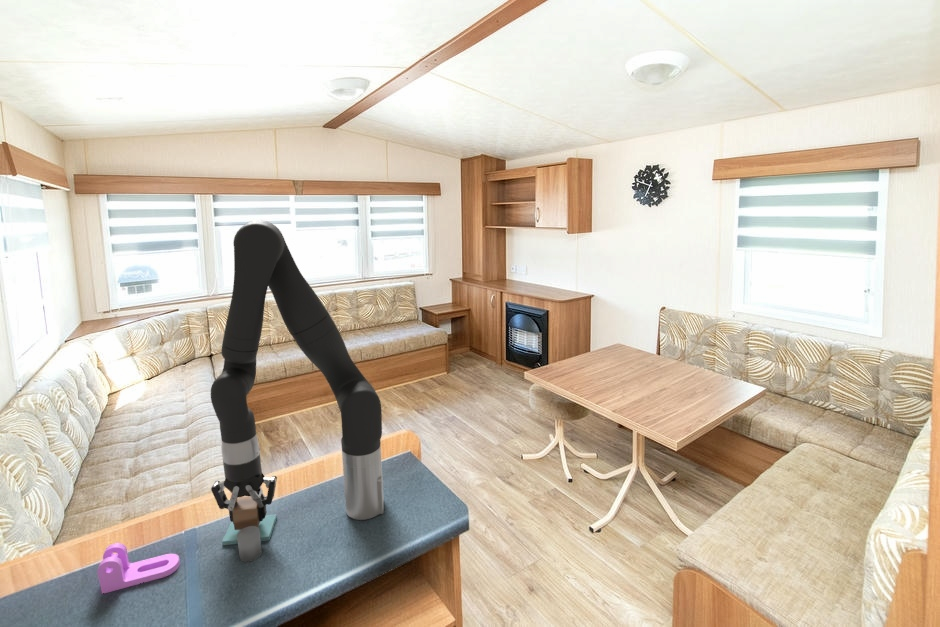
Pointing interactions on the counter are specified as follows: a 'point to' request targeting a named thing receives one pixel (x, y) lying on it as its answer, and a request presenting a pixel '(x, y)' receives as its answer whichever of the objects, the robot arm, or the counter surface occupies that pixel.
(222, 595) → the counter surface
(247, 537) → the grey rounded part
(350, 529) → the counter surface
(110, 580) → the bracket
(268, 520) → the teal mat
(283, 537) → the counter surface
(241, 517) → the walnut block
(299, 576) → the counter surface
